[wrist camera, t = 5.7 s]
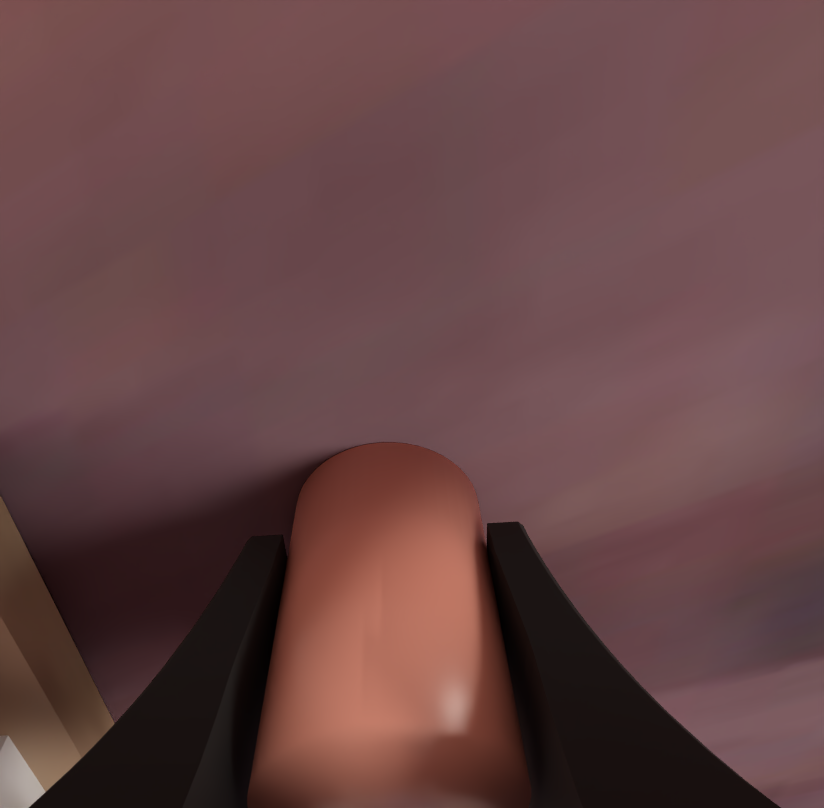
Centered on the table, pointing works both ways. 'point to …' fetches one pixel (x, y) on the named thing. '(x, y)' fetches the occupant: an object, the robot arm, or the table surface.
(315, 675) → the cap
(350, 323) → the table surface
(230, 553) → the table surface
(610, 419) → the table surface
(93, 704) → the board
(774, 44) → the table surface
